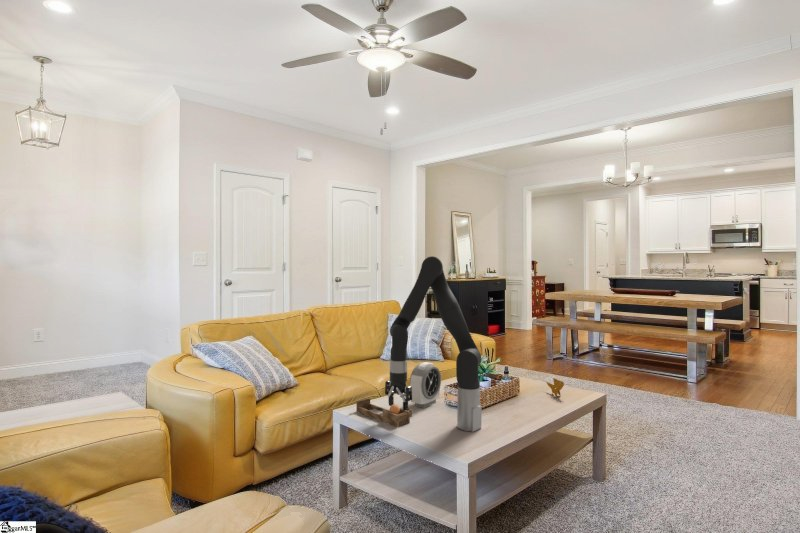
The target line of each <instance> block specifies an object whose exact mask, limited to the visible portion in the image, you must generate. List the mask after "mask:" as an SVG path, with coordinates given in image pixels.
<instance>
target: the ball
mask: <svg viewBox="0 0 800 533" xmlns="http://www.w3.org/2000/svg"><path fill="white" fill-rule="evenodd" d="M399 408H400V407H399V404H398V405H397V404H395V403H394V404H393V405H391V406H389V409H388V410H390V412H391V413H394V414H398V413H399V411H400V409H399Z"/></svg>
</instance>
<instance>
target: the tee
mask: <svg viewBox="0 0 800 533" xmlns="http://www.w3.org/2000/svg"><path fill="white" fill-rule="evenodd" d="M407 411H410V417H412V416H413V409H411V408H408V409H407Z"/></svg>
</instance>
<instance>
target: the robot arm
mask: <svg viewBox="0 0 800 533" xmlns="http://www.w3.org/2000/svg"><path fill="white" fill-rule="evenodd" d="M443 268H444V266H443V263H442V261H441V259H440V258H438V257H437V256H428V257H426V258H425V259H423V261H422V263H421V267H420V269H419V270H420V271H419V274H418V276H417V279H416V282H415V283H414V286H413V287H412V289H411V291H410V293H409V295H408V296H407V298H406V300H405V302H404V304H403V305H402V308H401V309H400V312H399V313H398V315H397V317H396V318H395V319H394V321H393V323H392V324H391V327H390V330H389V334H390V337H391V348H390V358H389V359H390V360H389V380H386V381H385V384H384V385H385V386H384V395H386V396H387V397H388V402H387V404H388V406H389V407H391V405H394V404H395V401H394V399H395V397H394V395H398V396H399V398H401V400H402V409H403V410H404V411H405V410H407V409H409V402H411V400H412V387H411V386H410V385H408V386H407V381H408V361H407V358H408V356H407V354H408V352H407V351H408V350H407V349H408V348H407V347H408V343H409V342H408V341H409V332H408V329H409V326H410V324H411V323H413V322H414V321H415V320H416V317H417V316H418V314H419V311H420V310H421V307H422V306H423V303H424V300H425V298H426V296H427V293H428V292H429V290H430V288H431V290H432V294H433V296H434V301H435V304H436V307H437V311H438V314H439V316H440V318H441V321H442V323H443V324H444V326H445V328H446V330H447V331H448V333H450V334H451V336H452V337H453V340H454V341H455V343H456V346H457V348H458V351H459V352H458V354H457V356H456V360H455V362H456V364H455V365H456V366H455V369H456V374H455V376H456V382H457V406H456V408H457V410H456V411H457V412H456V413H457V416H456V418H457V420H456V421H457V423H456V425H457V426H456V428H458V429H460V430H462V431H465V432H472V433H474V432H476V431H478V430H480V429H482V412H483V411H482V408H483V406H482V405H481V404H480V399H481V398H480V392H481V391H480V389H481V388H480V387H481V381H480V380H479V366H480V365H481V363H482V355H481V352H480V350H479V348H478V346H477V345H476V342H475V341H474V339H473V338H472V335H471V333H470V330H469V327H468V324H467V321H466V320H465V317H464V315H463V311H462V309H461V306H460V304H459V302H458V300H457V298H456V296H455V295H454V293H453V291H452V290H451V288H450V286H449V284H448V281H447V278H446V275H445V272H444V269H443Z"/></svg>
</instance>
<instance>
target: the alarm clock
mask: <svg viewBox="0 0 800 533" xmlns="http://www.w3.org/2000/svg"><path fill="white" fill-rule="evenodd" d="M441 384H442V375H441V371H440V370H439V368H438V367H437V366H436V365H434V363H432V362H427V361H425V362H424V361H423V362H421V363H419V364H417V365H416V366H415V367H414V368H413V370H412V371H411V374H410V379H409V386H411V387H412V400H411V401H410V402H411V403H413V404H414V407H418V408H423V409H424V408H427V407H429V406H431V405H433V404H436V403H437V400H436V399H438V398H439V397H440V392H441Z"/></svg>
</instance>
